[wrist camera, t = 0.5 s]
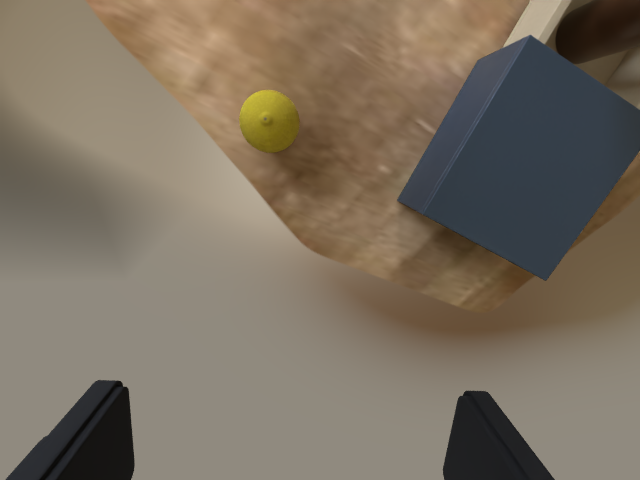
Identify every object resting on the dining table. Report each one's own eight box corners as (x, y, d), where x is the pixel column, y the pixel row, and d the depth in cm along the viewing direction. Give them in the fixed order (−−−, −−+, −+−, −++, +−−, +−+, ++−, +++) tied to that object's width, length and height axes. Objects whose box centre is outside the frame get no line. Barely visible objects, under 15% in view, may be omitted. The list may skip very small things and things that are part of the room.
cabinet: (477, 59, 35) (530, 33, 27) (582, 128, 38) (660, 123, 30) (396, 200, 39) (422, 214, 31) (498, 254, 41) (546, 281, 33)
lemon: (276, 85, 35) (269, 67, 27) (310, 129, 36) (312, 124, 29) (235, 120, 36) (217, 113, 28) (270, 162, 37) (262, 167, 29)
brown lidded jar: (561, 5, 33) (678, -59, 23) (610, 9, 33) (747, -52, 23) (550, 62, 34) (655, 26, 24) (597, 66, 34) (721, 31, 24)
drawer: (599, -133, 31) (678, -206, 24) (701, -48, 33) (798, -95, 27) (477, 77, 35) (517, 61, 29) (575, 139, 37) (633, 138, 31)
